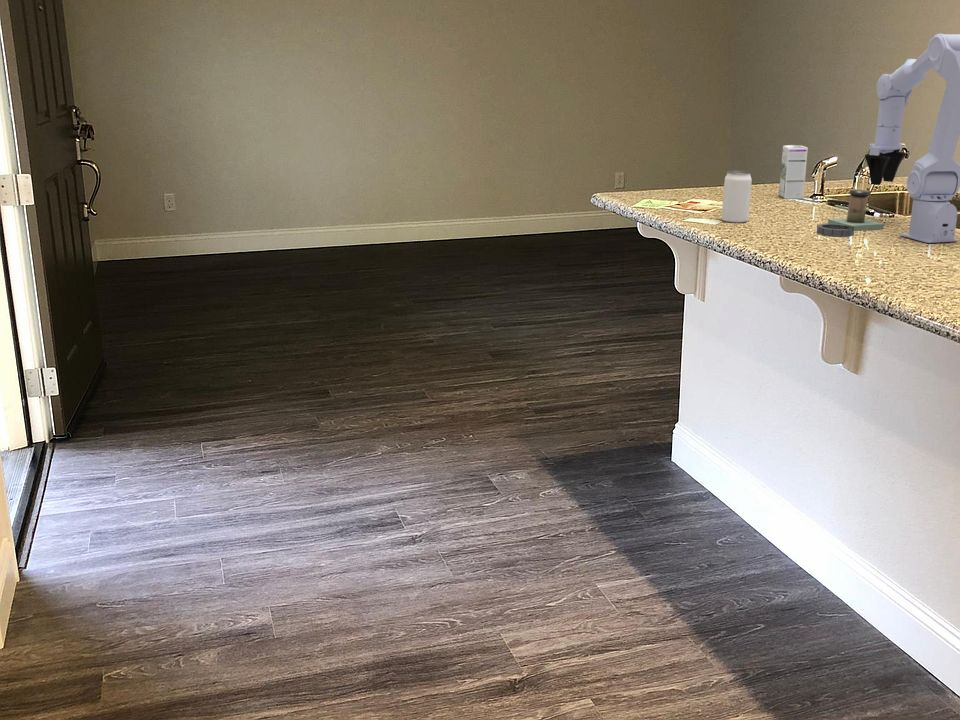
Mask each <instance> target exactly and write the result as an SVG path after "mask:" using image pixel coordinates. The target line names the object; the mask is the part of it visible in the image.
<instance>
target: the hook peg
mask: <svg viewBox="0 0 960 720" xmlns="http://www.w3.org/2000/svg"><path fill="white" fill-rule="evenodd" d="M870 193H871V191H869V190H867V189H857V188H851V189H849V193H848V194H849V195H850V196H849V201H848V208H847V215H846V218H847V221H848V222H853V223H864V220H865V219H866V212H867V205H868V199H869V196H870Z"/></svg>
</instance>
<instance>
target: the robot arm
mask: <svg viewBox="0 0 960 720" xmlns="http://www.w3.org/2000/svg"><path fill="white" fill-rule="evenodd" d="M932 69H934V70H935V72H936V73H937V75H938V77H941V78H943V79H944V80H945V82H946V85H945V89H944V92H943V95H942V96H943V97H942V99H941V102H940V103H941V104H940V107H939V110H938V113H937V118H936V121H935V125H934V129H933V132H932V135H931V140H930V143H929V148H928V150H927V153H926V154H925V155H923V156H921V157H920V158H918V159H917V160H916V161H915V162H914V164H913V168H912V170H911V171H910V173H909V175H908V176H907V179H906V190H907V192H908V194H909V196H910V198H911V199H912V200H913V201H912V208H911V214H910V215H911V216H910V221H909V227H908V228H909V229H908V232H902V233H899V236H900V237H904V238H907V239H911V240H915V241H919V242H922V243H926V244H934V243H947V242H948V243H949V242H957V238H955V235H956V234H955V233H956V228H957V223H958V222H957V221H958V213H959V212H958V209H957V207H956V206H955V205H954V204H953V203H951V202H950V201H953V197H955V196H956V195H957V193H958V192H959V190H960V163H959V162H958V161H957V160H956V159H955V158H954V154H955V152H956V149H957V144H958V141H959V139H960V34H959V33H958V34H957V33H956V34H955V33H954V34H952V33H949V34H947V33H945V34H944V33H936V34H935V35H934V36H933V37H932V38H930V39H929V41H928V44H927V49H926V50H924V51H923V53H922V54H921V55H919V57H917V59H915V58H907V59H906V60H905V61H904V63H903V64H902V65H901V66H899V68H897V69H895V70H894V71H893V72H892V73H891V74H890V73H889V74H888V73H882V74H881V76H880V77H879V78H878V80H877V83H876V88H875V89H876V90H875V91H876V97H877V98H878V99H879V103H878V104H879V105H878V112H877V113H878V114H877V120H876V121H877V122H876V128H875V137H874V143H869V147H870V149H869V153H866V154H864V158H865V159H864V160H865V161H866V163H867V167H868V170H869V171H868V172H869V181H870V185H875V186H881V184H882V181H883V182H889V183H890V182H891V183H893V182H894V179H895V177H896V174H897V172H898V169H899V168H900V165H901V163H902V161H903V160H904V158H905V157H906V153H907V152H902V149H903V142H901V137H902V129H903V123H904V121H903V120H904V116H905V115H904V114H905V108H906V107H907V106H908V102H909V99H910V97H911V95H912V92H913V89H914V88H916V87H917V86H918V85H919V84H921V83H922V82H923V81H924V80H926V77H927V74H928V72H929V71H930V70H932Z"/></svg>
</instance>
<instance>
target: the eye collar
mask: <svg viewBox="0 0 960 720" xmlns="http://www.w3.org/2000/svg"><path fill="white" fill-rule="evenodd" d="M816 233H817V234H819V235H821V236H822V235H823V236H828V237H838V238H839V237H843V238H844V237H852V236H854V235H855V231H854V227H852V226H849V225H842V224H828V223H820V224H817V225H816Z"/></svg>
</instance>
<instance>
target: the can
mask: <svg viewBox="0 0 960 720" xmlns="http://www.w3.org/2000/svg"><path fill="white" fill-rule="evenodd" d="M752 179H753V178H752V177H751V172H750V171H746V170H728V171H726V175H725V177H724V184H723V196H722V207H721V221H723V222H725V223H731V224H732V223H733V224H743V223H747V222H748V221H749V215H750V204H751V195H752V194H751V192H752V181H753V180H752Z"/></svg>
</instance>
